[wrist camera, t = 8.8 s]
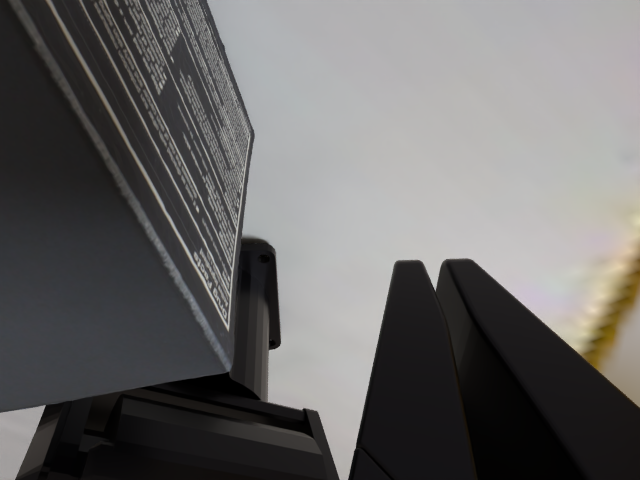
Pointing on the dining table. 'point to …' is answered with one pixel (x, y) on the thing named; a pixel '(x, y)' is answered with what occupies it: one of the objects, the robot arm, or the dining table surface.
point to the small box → (116, 197)
